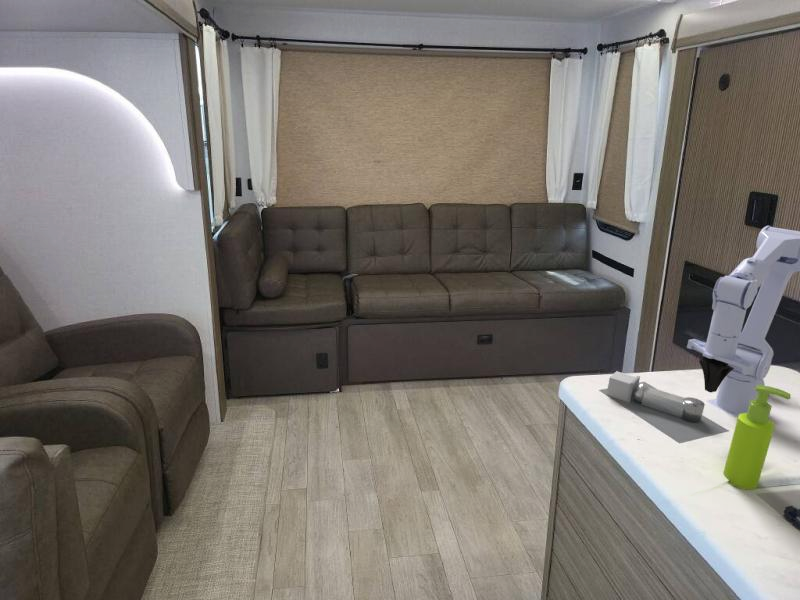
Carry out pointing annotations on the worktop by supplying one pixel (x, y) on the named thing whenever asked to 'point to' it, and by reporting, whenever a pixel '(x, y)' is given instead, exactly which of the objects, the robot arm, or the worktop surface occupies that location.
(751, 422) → the soap dispenser
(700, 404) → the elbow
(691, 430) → the duct board
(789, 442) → the worktop surface
